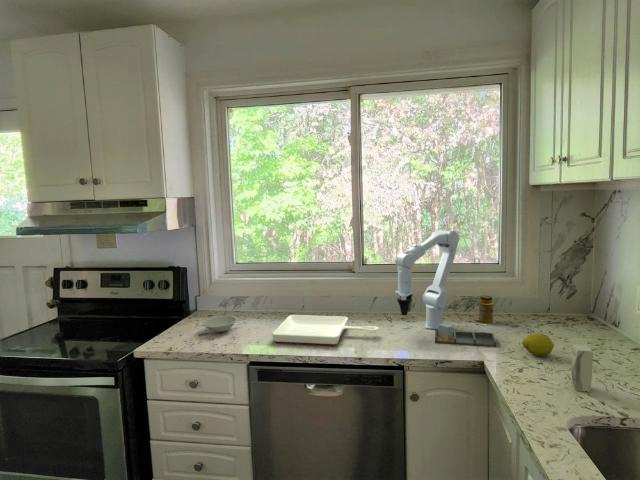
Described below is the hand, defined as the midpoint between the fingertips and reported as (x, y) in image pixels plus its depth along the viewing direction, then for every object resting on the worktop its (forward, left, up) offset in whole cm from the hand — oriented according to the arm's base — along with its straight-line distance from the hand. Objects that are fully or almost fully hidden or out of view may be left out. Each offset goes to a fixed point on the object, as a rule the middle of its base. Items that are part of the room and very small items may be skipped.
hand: (405, 312), depth 181 cm
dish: (+13, -82, -10) cm, 84 cm away
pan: (+8, -32, -10) cm, 35 cm away
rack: (+4, +24, -9) cm, 26 cm away
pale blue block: (+4, +17, -8) cm, 19 cm away
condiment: (-23, +34, -10) cm, 42 cm away
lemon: (+15, +49, -10) cm, 52 cm away
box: (+40, +56, -10) cm, 69 cm away
